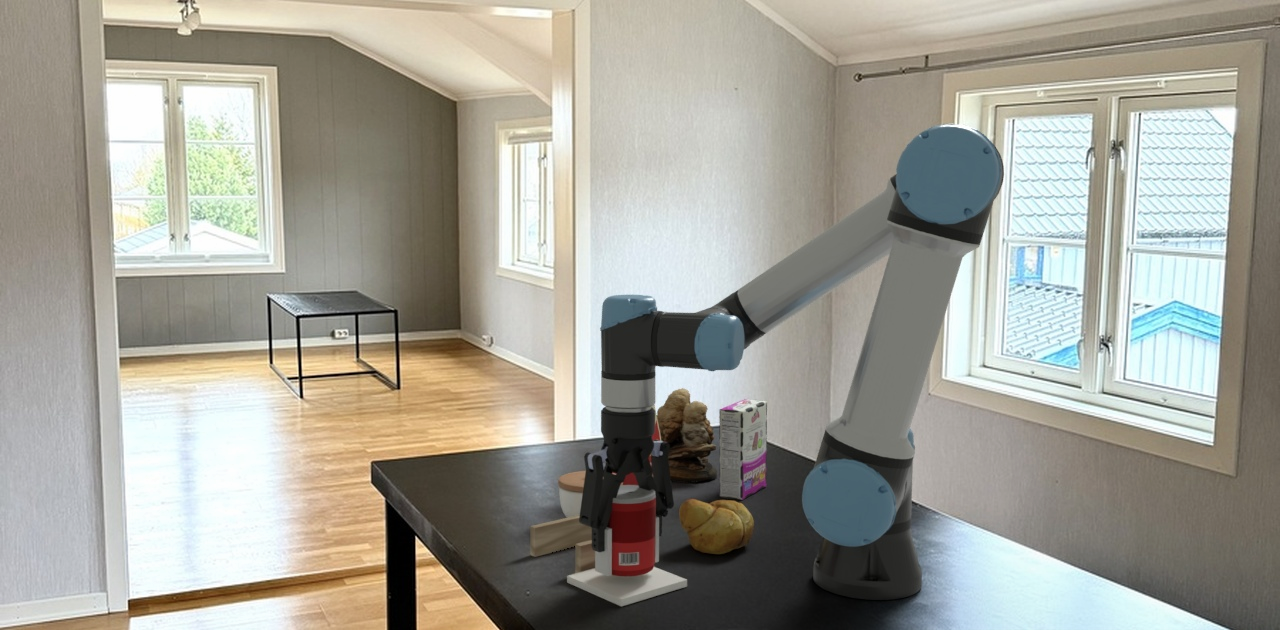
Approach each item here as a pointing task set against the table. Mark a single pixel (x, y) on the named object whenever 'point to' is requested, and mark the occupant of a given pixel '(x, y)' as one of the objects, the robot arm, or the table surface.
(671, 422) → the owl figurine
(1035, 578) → the table surface
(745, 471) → the candy bar box
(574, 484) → the lidded jar
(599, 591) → the coaster
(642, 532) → the canned food
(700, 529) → the bread roll
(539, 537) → the cradle
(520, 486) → the table surface
